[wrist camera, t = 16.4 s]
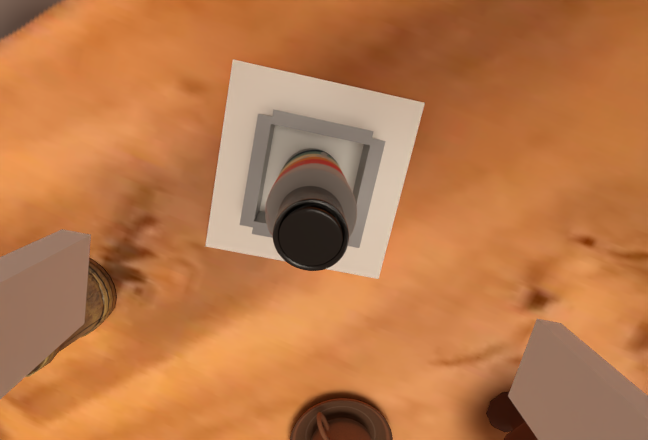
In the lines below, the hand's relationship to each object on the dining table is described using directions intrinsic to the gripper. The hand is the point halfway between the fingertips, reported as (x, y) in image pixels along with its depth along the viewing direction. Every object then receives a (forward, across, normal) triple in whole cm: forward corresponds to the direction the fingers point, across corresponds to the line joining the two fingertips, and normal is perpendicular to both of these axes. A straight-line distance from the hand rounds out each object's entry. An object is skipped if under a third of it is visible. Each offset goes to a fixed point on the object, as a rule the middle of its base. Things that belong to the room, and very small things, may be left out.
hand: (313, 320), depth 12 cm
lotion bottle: (+28, 0, 0) cm, 28 cm away
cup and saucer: (+30, -9, +30) cm, 43 cm away
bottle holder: (+29, 0, 0) cm, 30 cm away
